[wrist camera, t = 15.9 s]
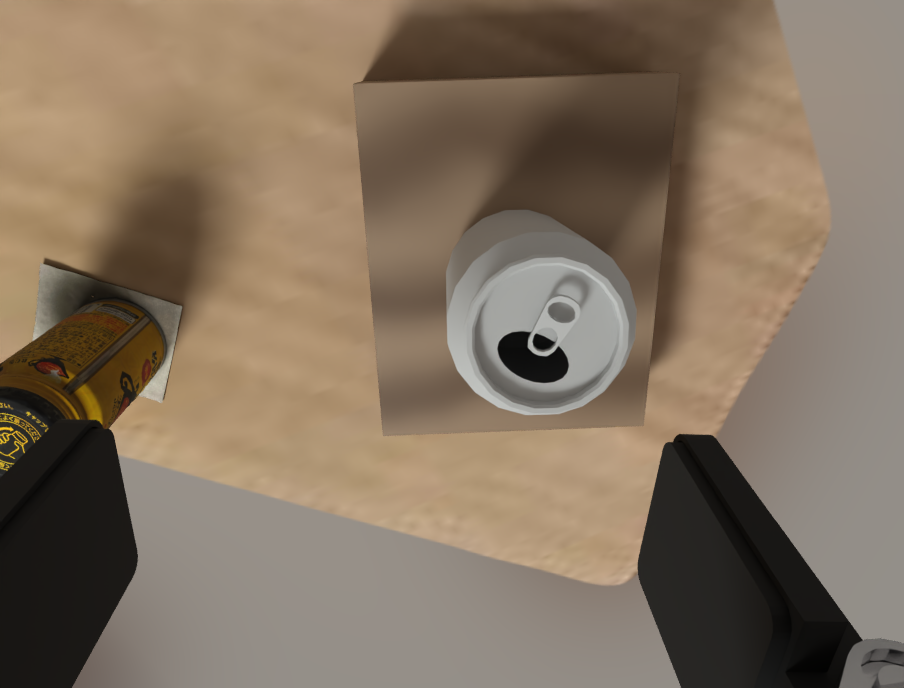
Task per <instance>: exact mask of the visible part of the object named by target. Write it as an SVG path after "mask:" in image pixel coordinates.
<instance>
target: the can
mask: <svg viewBox="0 0 904 688" xmlns="http://www.w3.org/2000/svg"><path fill="white" fill-rule="evenodd" d="M446 302H447V343H448V347H449V350H450V352H451V355H452V358H453V360H454V363H455V366H456V368H457V371H458V372H459V373H460V375H461V376H462V377H463V378H464V380H465V381H466V382H467V383H468V384H469V386H470V387H471V388H472V389H473V391H474V392H475V393H477V394H478V395H480V396H481V397H483V398H484V399H486V400H487V401H489V402H491V403H492V404H494V405H495V406H497V407H498V408H501V409H505V410H509V411H512V412H516V413H520V414H524V415H549V414H561V413H564V412H567V411H570V410H573V409H576V408H579V407H582V406H584V405H585V404H587V403H588V402H590V401H591V400H593V399H594V398H596V397H597V396H598V395H600V394H601V393H603V392H604V391H605V390H606V389H607V387H608V386H609V385H610V384H611V382H612V381H613V380H614V379H615V377H616V376H617V375H618V374H619V372H620V371H621V370H622V368H623V367H624V366H625V363H626V361H627V358H628V356H629V353H630V351H631V348H632V346H633V343H634V340H635V332H636V314H637V309H636V306H635V302H634V298H633V295H632V291H631V288H630V284H629V281H628V280H627V279H626V277H625V276H624V274H623V273H622V271H621V270H620V269H619V267H618V266H617V264H616V263H615V261H614V260H613V259H612V258H611V257H610V256H609V255H607V254H606V253H604V252H603V251H602V250H600V249H599V248H598V247H596V246H595V245H593V244H592V243H591V242H589V241H588V240H586V239H585V238H583V237H581V236H580V235H578V234H577V233H575V232H573V231H572V230H570V229H569V228H567V227H566V226H564V225H562V224H561V223H559V222H558V221H556V220H554V219H553V218H551V217H550V216H547V215H544V214H540V213H537V212H534V211H530V210H504V211H501V212H499V213H496V214H493V215H490V216H487V217H485V218H483V219H481V220H480V221H479V222H477V223H476V224H475V225H474V226H472V227H471V228H470V229H468V230H467V231H466V232H465V233H464V234H463V236H462V237H461V239H460V240H459V242H458V243H457V245H456V246H455V248H454V249H453V250H452V254H451V257H450V260H449V264H448V267H447V271H446Z"/></svg>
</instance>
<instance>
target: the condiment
mask: <svg viewBox="0 0 904 688" xmlns="http://www.w3.org/2000/svg"><path fill="white" fill-rule="evenodd" d="M39 275H40V280H39V290H38V300H37V310H36V318H35V322H36V324H35V328H34V335H33V341H32V342H31V343H29V344H28V345H27V346H25V347H24V348H22V349H21V350H20V351H18V352H17V353H15V354H14V355H12V356H11V357H9V358H8V359H7V360H5V361H4V362H2V363H1V364H0V478H1V477H2V476H3V475H4V474H5V472H6V471H7V470H8V469H9V468H10V467H11V466H12V465H13V464H14V463H15V462H16V461H17V460H18V459H19V458H20V457H21V456H22V455H23V454H24V453H25V452H26V451H27V450H28V449H29V448H30V447H31V446H32V445H33V444H34V443H35V442H36V441H37V440H38V439H39V438H40V437H41V436H42V435H43V434H44V433H45V432H46V431H47V430H48V429H49V428H50V427H51V426H52V425H53V424H54V423H55V422H56V421H58V420H60V419H83V420H98V421H100V423H101V424H102V425H103V428H104V429H109V428H110V426H111V425H112V424H113V423H114V422H115V420H116V419H117V418H118V417H119V416H120V415H121V414H122V413H123V412H124V410H125V409H126V408H127V407H128V406H129V405H130V403H131V402H132V401H134V400H135V399H136V397H137V396H141V397H146V398H149V399H152V400H155V401H158V402H160V403H162V401H163V396H164V392H165V388H166V383H167V379H168V374H169V370H170V365H171V361H172V356H173V351H174V346H175V341H176V336H177V331H178V325H179V320H180V315H181V311H182V306H179V305H176V304H173V303H170V302H167V301H164V300H161V299H158V298H155V297H152V296H147V295H144V294H142V293H139V292H136V291H133V290H129V289H126V288H123V287H119V286H115V285H112V284H109V283H104V282H100V281H97V280H94V279H92V278H89V277H85V276H82V275H79V274H76V273H73V272H69V271H65V270H61V269H57V268H54V267H51V266H48V265H45V264H42V263H40V272H39ZM92 296H94V297H92Z"/></svg>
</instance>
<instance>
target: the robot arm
mask: <svg viewBox="0 0 904 688" xmlns="http://www.w3.org/2000/svg"><path fill="white" fill-rule="evenodd" d="M137 559H138V554H137V548H136V543H135V538H134V533H133V528H132V524H131V519H130V513H129V508H128V504H127V498H126V493H125V489H124V483H123V479H122V473H121V468H120V464H119V459H118V454H117V449H116V444H115V439H114V435H113V433H112V431H111V430H110V429H104V428H103V425H102V424H101V423H100V421H98V420H83V419H60V420H58V421H56V422H55V423H54V424H53V425H52V426H51V427H50V428H49V429H48V430H47V431H46V432H45V433H44V434H43V435H42V436H41V437H40V438H39V439H38V440H37V441H36V442H35V443H34V444H33V445H32V446H31V447H30V448H29V449H28V450H27V451H26V452H25V453H24V454H23V455H22V456H21V457H20V458H19V459H18V460H17V461H16V462H15V463H14V464H13V465H12V466H11V467H10V468H9V469H8V470H7V471H6V472H5V474H4V475H3V476H2V477H1V478H0V688H72V686H73V684H74V683H75V681H76V679H77V677H78V675H79V674H80V672H81V670H82V668H83V666H84V665H85V663H86V661H87V659H88V657H89V656H90V654H91V652H92V650H93V648H94V646H95V645H96V643H97V641H98V639H99V637H100V635H101V634H102V632H103V630H104V628H105V627H106V625H107V623H108V621H109V619H110V618H111V616H112V614H113V612H114V610H115V608H116V607H117V605H118V603H119V601H120V599H121V598H122V596H123V594H124V592H125V590H126V588H127V586H128V585H129V583H130V581H131V580H132V578H133V575H134V573H135V570H136V567H137V561H138V560H137ZM638 576H639V580H640V583H641V586H642V589H643V591H644V594H645V596H646V599H647V601H648V604H649V606H650V609H651V611H652V614H653V617H654V619H655V622H656V624H657V626H658V629H659V632H660V634H661V637H662V640H663V642H664V645H665V647H666V650H667V652H668V655H669V657H670V660H671V663H672V665H673V668H674V670H675V673H676V675H677V678H678V680H679V683H680V686H681V688H904V644H903V643H901V642H896V641H891V640H886V639H866V640H862V639H861V637H860V636H859V635H858V633H857V632H856V630H855V629H854V628H853V626H852V625H851V624H850V622H849V621H848V619H847V618H846V617H845V615H844V614H843V612H842V611H841V610H840V608H839V607H838V606H837V604H836V603H835V601H834V600H833V599H832V597H831V596H830V595H829V593H828V592H827V590H826V589H825V588H824V586H823V585H822V584H821V582H820V581H819V579H818V578H817V577H816V575H815V574H814V573H813V571H812V570H811V569H810V567H809V566H808V565H807V563H806V562H805V560H804V559H803V558H802V556H801V555H800V553H799V552H798V551H797V549H796V548H795V547H794V545H793V544H792V542H791V541H790V539H789V538H788V537H787V535H786V534H785V533H784V531H783V530H782V529H781V527H780V526H779V524H778V523H777V522H776V520H775V519H774V518H773V517H772V515H771V514H770V512H769V511H768V510H767V508H766V507H765V505H764V504H763V503H762V501H761V500H760V499H759V497H758V496H757V494H756V493H755V492H754V490H753V489H752V488H751V486H750V485H749V483H748V482H747V481H746V479H745V478H744V477H743V475H742V474H741V473H740V471H739V470H738V468H737V467H736V465H735V464H734V463H733V461H732V460H731V459H730V457H729V456H728V455H727V453H726V452H725V450H724V449H723V448H722V446H721V445H720V444H719V442H718V441H717V439H716V438H715V437H714V436H712V435H692V434H679V435H677V436H676V437H675V439H674V441H673V442H667V443H666V444H665V445H664V448H663V451H662V456H661V460H660V465H659V469H658V474H657V478H656V483H655V487H654V491H653V496H652V500H651V505H650V509H649V514H648V518H647V523H646V527H645V532H644V536H643V541H642V545H641V549H640V554H639V558H638Z"/></svg>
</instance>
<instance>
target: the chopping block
mask: <svg viewBox="0 0 904 688" xmlns="http://www.w3.org/2000/svg"><path fill="white" fill-rule="evenodd" d="M679 79H680V73H670V72H627V73H596V74H566V75H536V76H506V77H476V78H446V79H415V80H385V81H362V82H358V83H354V84H353V89H354V100H355V112H356V124H357V136H358V147H359V159H360V171H361V183H362V195H363V206H364V218H365V230H366V242H367V253H368V265H369V277H370V289H371V300H372V312H373V324H374V336H375V347H376V359H377V371H378V383H379V394H380V406H381V418H382V430H383V436H396V435H422V434H448V433H474V432H500V431H526V430H552V429H578V428H604V427H630V426H644V418H645V408H646V398H647V388H648V379H649V369H650V359H651V350H652V340H653V330H654V321H655V311H656V301H657V292H658V282H659V272H660V263H661V253H662V243H663V234H664V224H665V214H666V205H667V195H668V185H669V175H670V166H671V156H672V146H673V137H674V127H675V117H676V108H677V98H678V88H679ZM504 210H530V211H534V212H537V213H540V214H544V215H547V216H550V217H551V218H553V219H554V220H556V221H558V222H559V223H561V224H562V225H564V226H566V227H567V228H569V229H570V230H572V231H573V232H575V233H577V234H578V235H580V236H581V237H583V238H585V239H586V240H588V241H589V242H591V243H592V244H593V245H595V246H596V247H598V248H599V249H600V250H602V251H603V252H604V253H606V254H607V255H609V256H610V257H611V258H612V259H613V260H614V261H615V263H616V264H617V266H618V267H619V269H620V270H621V271H622V273H623V274H624V276H625V277H626V279H627V280H628V281H629V284H630V288H631V291H632V295H633V298H634V302H635V306H636V309H637V314H636V332H635V340H634V343H633V346H632V348H631V351H630V353H629V356H628V358H627V361H626V363H625V366H624V367H623V368H622V370H621V371H620V372H619V374H618V375H617V376H616V377H615V379H614V380H613V381H612V382H611V384H610V385H609V386H608V387H607V389H606V390H605V391H604V392H603V393H601V394H600V395H598V396H597V397H596V398H594V399H593V400H591V401H590V402H588V403H587V404H585V405H584V406H582V407H579V408H576V409H573V410H570V411H567V412H564V413H561V414H549V415H524V414H520V413H516V412H512V411H509V410H505V409H501V408H498V407H497V406H495V405H494V404H492V403H491V402H489V401H487V400H486V399H484V398H483V397H481V396H480V395H478V394H477V393H475V392H474V391H473V389H472V388H471V387H470V386H469V384H468V383H467V382H466V381H465V380H464V378H463V377H462V376H461V375H460V373H459V372H458V371H457V368H456V366H455V363H454V360H453V358H452V355H451V352H450V350H449V347H448V343H447V302H446V271H447V267H448V264H449V260H450V257H451V254H452V250H453V249H454V248H455V246H456V245H457V243H458V242H459V240H460V239H461V237H462V236H463V234H464V233H465V232H466V231H467V230H468V229H470V228H471V227H472V226H474V225H475V224H476V223H477V222H479V221H480V220H481V219H483V218H485V217H487V216H490V215H493V214H496V213H499V212H501V211H504Z"/></svg>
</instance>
